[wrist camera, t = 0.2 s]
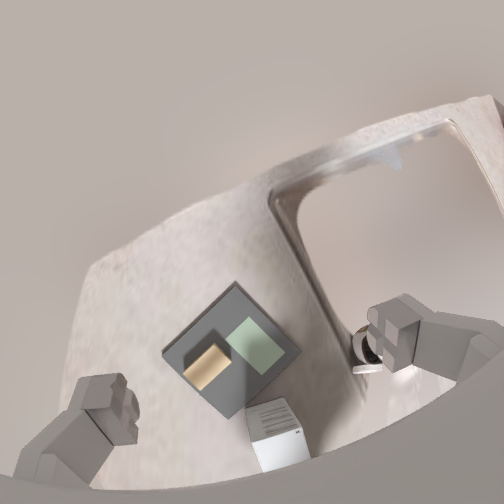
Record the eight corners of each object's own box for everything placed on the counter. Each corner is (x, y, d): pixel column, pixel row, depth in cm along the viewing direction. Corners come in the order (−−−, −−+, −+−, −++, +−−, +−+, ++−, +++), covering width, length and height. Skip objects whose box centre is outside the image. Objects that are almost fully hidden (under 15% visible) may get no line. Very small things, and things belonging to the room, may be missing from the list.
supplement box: (243, 407, 58) (249, 440, 42) (283, 395, 59) (302, 424, 43) (255, 442, 57) (265, 480, 40) (294, 430, 58) (314, 464, 41)
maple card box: (231, 359, 59) (231, 362, 56) (201, 386, 57) (200, 390, 54) (214, 342, 59) (213, 344, 56) (184, 370, 57) (182, 373, 55)
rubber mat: (300, 350, 61) (301, 351, 60) (228, 417, 57) (228, 419, 56) (235, 285, 62) (235, 285, 61) (162, 355, 59) (161, 356, 57)
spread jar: (380, 316, 64) (407, 318, 53) (392, 358, 63) (419, 366, 51) (337, 338, 62) (359, 344, 51) (351, 380, 61) (373, 393, 50)
